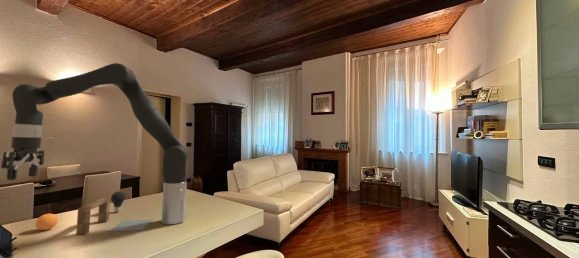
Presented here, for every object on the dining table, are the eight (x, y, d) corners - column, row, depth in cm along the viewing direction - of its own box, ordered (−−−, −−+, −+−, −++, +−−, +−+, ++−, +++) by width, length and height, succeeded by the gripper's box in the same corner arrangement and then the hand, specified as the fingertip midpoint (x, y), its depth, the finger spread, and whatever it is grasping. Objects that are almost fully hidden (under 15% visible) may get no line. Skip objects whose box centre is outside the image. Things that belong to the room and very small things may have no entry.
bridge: (108, 220, 99) (110, 198, 100) (85, 234, 85) (87, 208, 85) (100, 221, 99) (102, 198, 99) (76, 235, 84) (78, 208, 84)
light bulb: (116, 214, 108) (118, 193, 108) (107, 213, 109) (108, 192, 109) (127, 210, 113) (128, 190, 114) (118, 210, 114) (119, 189, 115)
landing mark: (153, 219, 102) (153, 219, 102) (142, 230, 90) (142, 229, 90) (123, 221, 99) (123, 220, 99) (107, 231, 87) (107, 231, 87)
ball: (61, 226, 92) (62, 211, 92) (49, 232, 86) (50, 216, 86) (43, 227, 91) (44, 211, 91) (29, 233, 85) (31, 216, 85)
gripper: (21, 136, 83) (16, 181, 82) (53, 137, 97) (49, 175, 96) (-4, 135, 81) (-10, 181, 80) (32, 136, 95) (27, 175, 94)
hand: (22, 177), depth 88 cm, fingers open, 8 cm apart
